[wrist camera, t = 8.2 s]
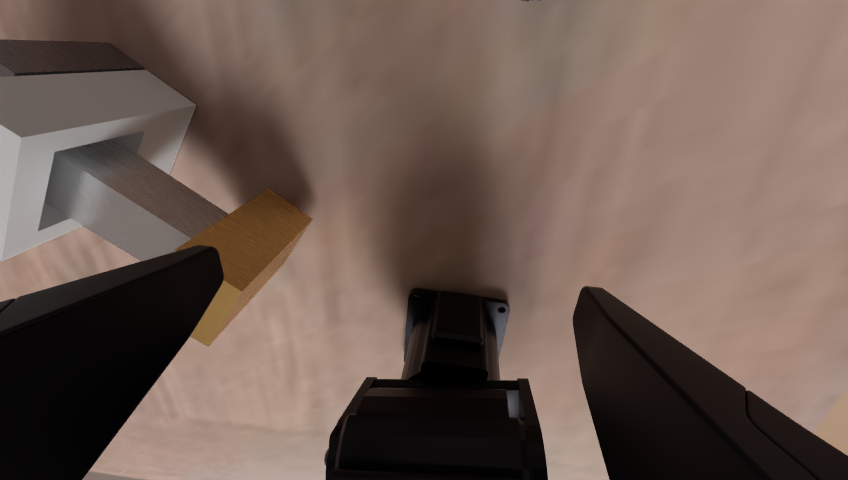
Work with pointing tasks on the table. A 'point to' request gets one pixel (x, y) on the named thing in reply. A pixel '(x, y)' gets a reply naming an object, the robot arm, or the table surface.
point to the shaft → (174, 221)
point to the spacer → (61, 58)
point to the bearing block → (75, 138)
